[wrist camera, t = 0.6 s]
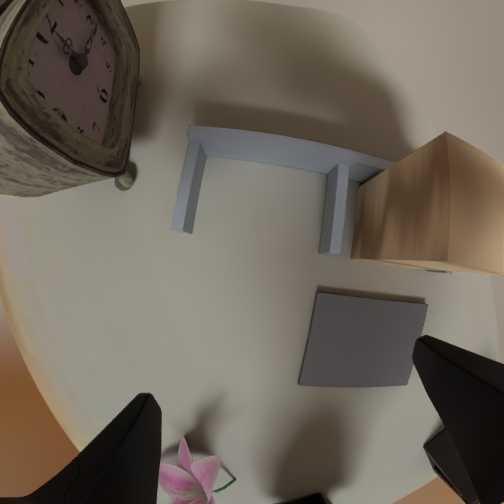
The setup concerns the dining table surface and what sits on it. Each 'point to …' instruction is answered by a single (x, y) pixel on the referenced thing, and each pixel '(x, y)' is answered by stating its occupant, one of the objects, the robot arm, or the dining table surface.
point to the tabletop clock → (65, 94)
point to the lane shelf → (283, 154)
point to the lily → (190, 478)
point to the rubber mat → (360, 341)
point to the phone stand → (450, 466)
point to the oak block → (435, 211)
